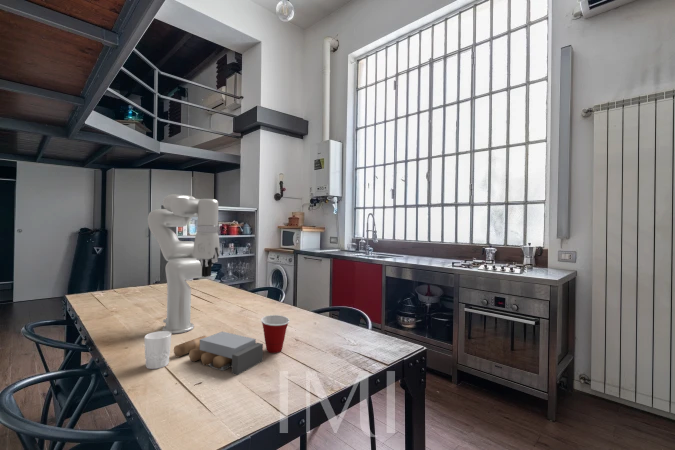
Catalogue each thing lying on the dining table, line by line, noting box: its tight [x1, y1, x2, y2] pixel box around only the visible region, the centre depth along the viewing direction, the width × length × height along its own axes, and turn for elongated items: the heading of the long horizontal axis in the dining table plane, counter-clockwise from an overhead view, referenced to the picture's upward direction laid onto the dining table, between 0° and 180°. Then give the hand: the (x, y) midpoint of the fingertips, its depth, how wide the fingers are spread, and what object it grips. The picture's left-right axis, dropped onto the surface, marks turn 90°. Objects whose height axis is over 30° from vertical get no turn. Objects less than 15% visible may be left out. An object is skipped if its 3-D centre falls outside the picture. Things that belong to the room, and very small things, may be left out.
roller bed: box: [173, 335, 219, 366], centre depth 116 cm, size 18×12×4 cm, turn 63°
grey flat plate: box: [208, 362, 232, 371], centre depth 111 cm, size 6×12×1 cm, turn 153°
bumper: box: [231, 342, 264, 376], centre depth 107 cm, size 2×12×6 cm, turn 153°
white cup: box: [144, 330, 172, 370], centre depth 107 cm, size 8×8×10 cm
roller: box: [213, 355, 232, 369], centre depth 110 cm, size 4×12×4 cm
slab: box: [200, 331, 257, 359], centre depth 111 cm, size 16×10×4 cm, turn 63°
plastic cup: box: [260, 314, 291, 354], centre depth 122 cm, size 11×11×12 cm
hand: (206, 276), depth 127 cm, fingers closed
